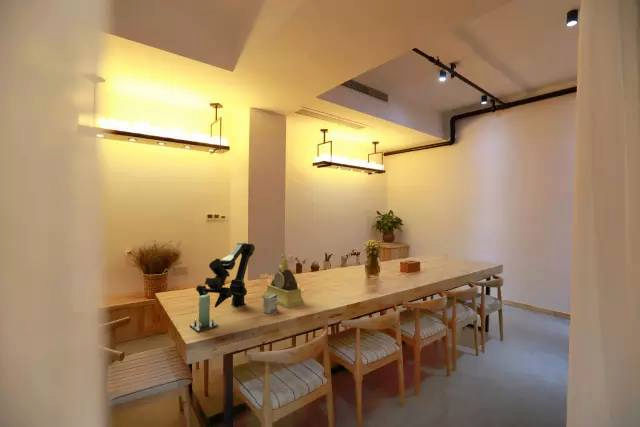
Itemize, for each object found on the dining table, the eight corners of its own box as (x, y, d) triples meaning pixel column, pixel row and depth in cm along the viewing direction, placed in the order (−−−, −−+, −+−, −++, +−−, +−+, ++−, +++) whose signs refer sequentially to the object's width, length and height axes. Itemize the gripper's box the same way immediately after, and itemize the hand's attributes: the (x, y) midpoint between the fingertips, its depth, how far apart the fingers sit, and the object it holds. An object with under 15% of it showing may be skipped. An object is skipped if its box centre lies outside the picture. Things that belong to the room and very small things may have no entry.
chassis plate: (209, 320, 146) (209, 314, 146) (218, 326, 139) (218, 319, 139) (189, 326, 138) (189, 319, 138) (198, 332, 132) (198, 325, 131)
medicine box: (270, 313, 157) (270, 298, 157) (263, 312, 159) (263, 297, 159) (277, 309, 165) (277, 294, 165) (270, 308, 166) (270, 293, 166)
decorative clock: (261, 297, 186) (262, 253, 186) (277, 294, 195) (278, 251, 195) (287, 308, 166) (287, 258, 166) (303, 304, 175) (304, 256, 175)
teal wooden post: (209, 321, 142) (209, 294, 142) (209, 325, 137) (209, 297, 137) (198, 323, 140) (199, 295, 140) (198, 327, 135) (198, 298, 135)
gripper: (198, 270, 148) (183, 297, 137) (229, 272, 144) (217, 300, 133) (207, 281, 156) (193, 307, 145) (237, 283, 151) (226, 310, 141)
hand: (207, 306), depth 141 cm, fingers open, 9 cm apart
